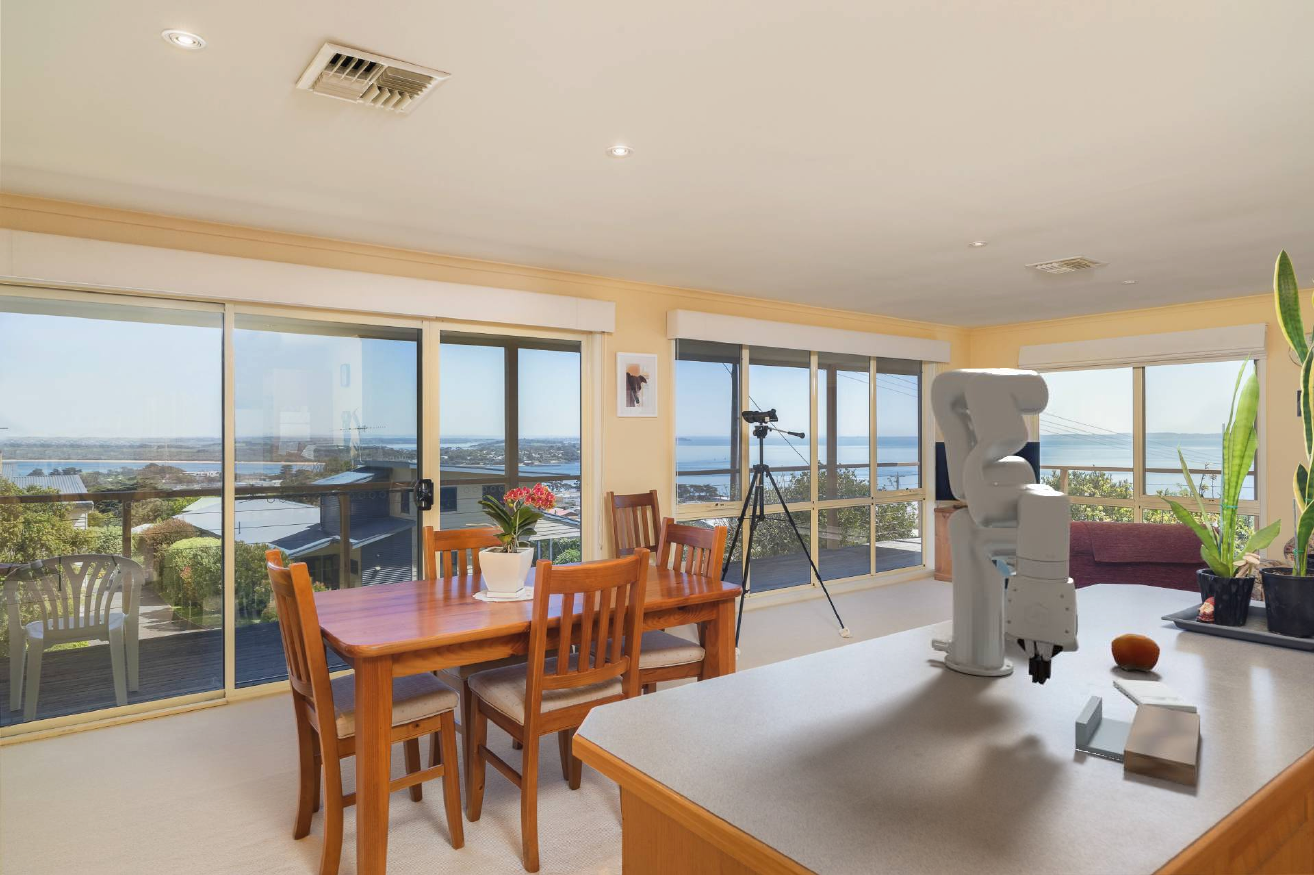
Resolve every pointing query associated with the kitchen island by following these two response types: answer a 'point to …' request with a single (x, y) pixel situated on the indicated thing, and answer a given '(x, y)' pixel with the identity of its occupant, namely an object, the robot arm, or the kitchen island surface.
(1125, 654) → the fruit
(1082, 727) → the grey l-shaped bracket
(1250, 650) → the kitchen island surface
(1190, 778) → the brown flat block
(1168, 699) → the external hard drive
